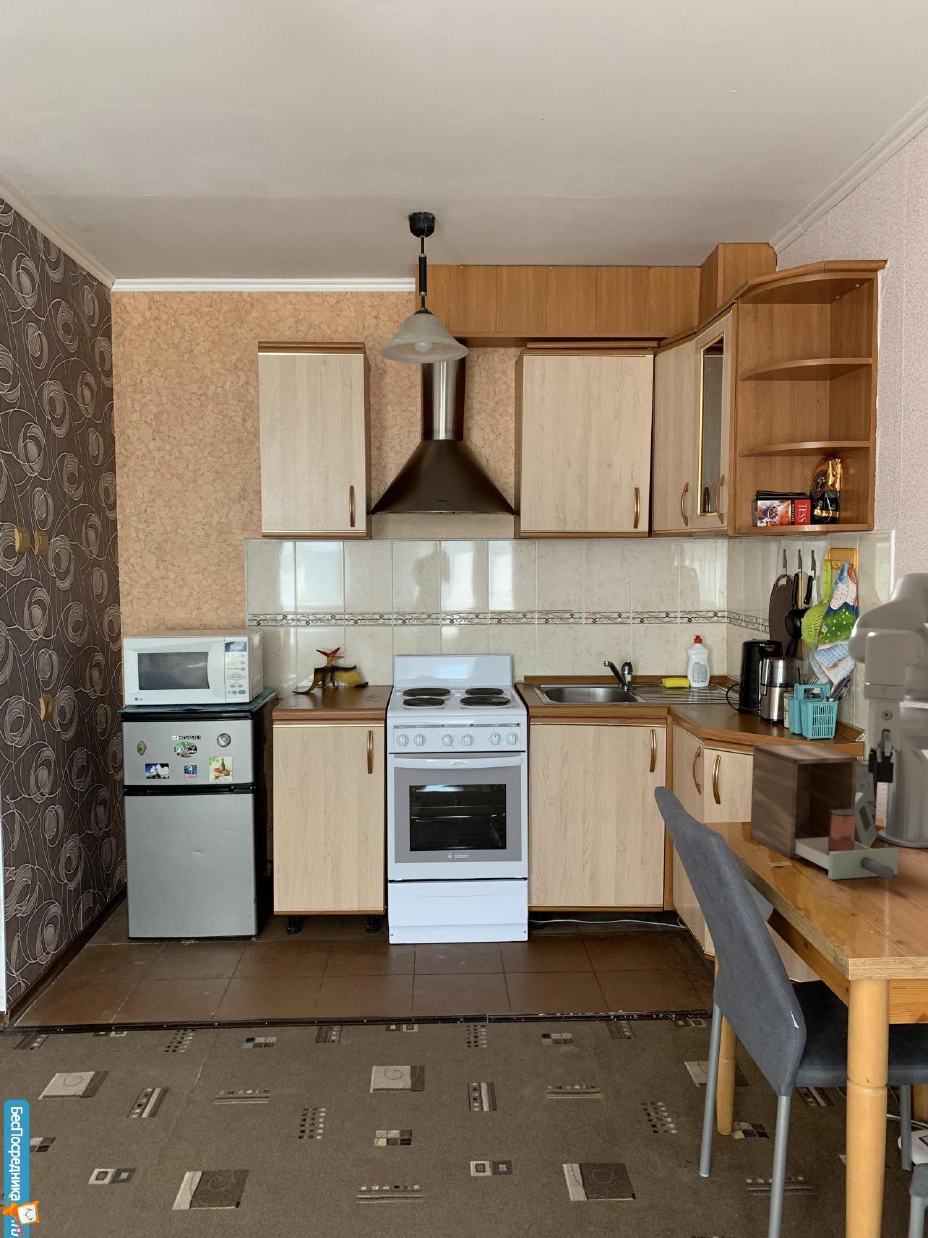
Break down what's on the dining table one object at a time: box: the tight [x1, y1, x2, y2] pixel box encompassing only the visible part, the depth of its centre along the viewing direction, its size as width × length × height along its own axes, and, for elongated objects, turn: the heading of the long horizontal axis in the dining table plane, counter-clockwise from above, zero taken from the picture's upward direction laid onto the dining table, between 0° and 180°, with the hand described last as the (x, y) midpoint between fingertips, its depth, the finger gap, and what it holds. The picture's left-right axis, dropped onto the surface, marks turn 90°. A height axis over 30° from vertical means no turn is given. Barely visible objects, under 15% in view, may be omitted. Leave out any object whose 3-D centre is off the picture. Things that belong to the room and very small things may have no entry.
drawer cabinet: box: [749, 743, 858, 860], centre depth 211 cm, size 16×16×22 cm
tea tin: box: [828, 806, 856, 855], centre depth 198 cm, size 5×5×10 cm
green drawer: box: [794, 837, 899, 881], centre depth 195 cm, size 16×23×5 cm
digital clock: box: [854, 792, 879, 848], centre depth 215 cm, size 16×9×11 cm, turn 137°
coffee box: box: [856, 758, 879, 825], centre depth 229 cm, size 9×6×16 cm
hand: (879, 777), depth 185 cm, fingers open, 9 cm apart
